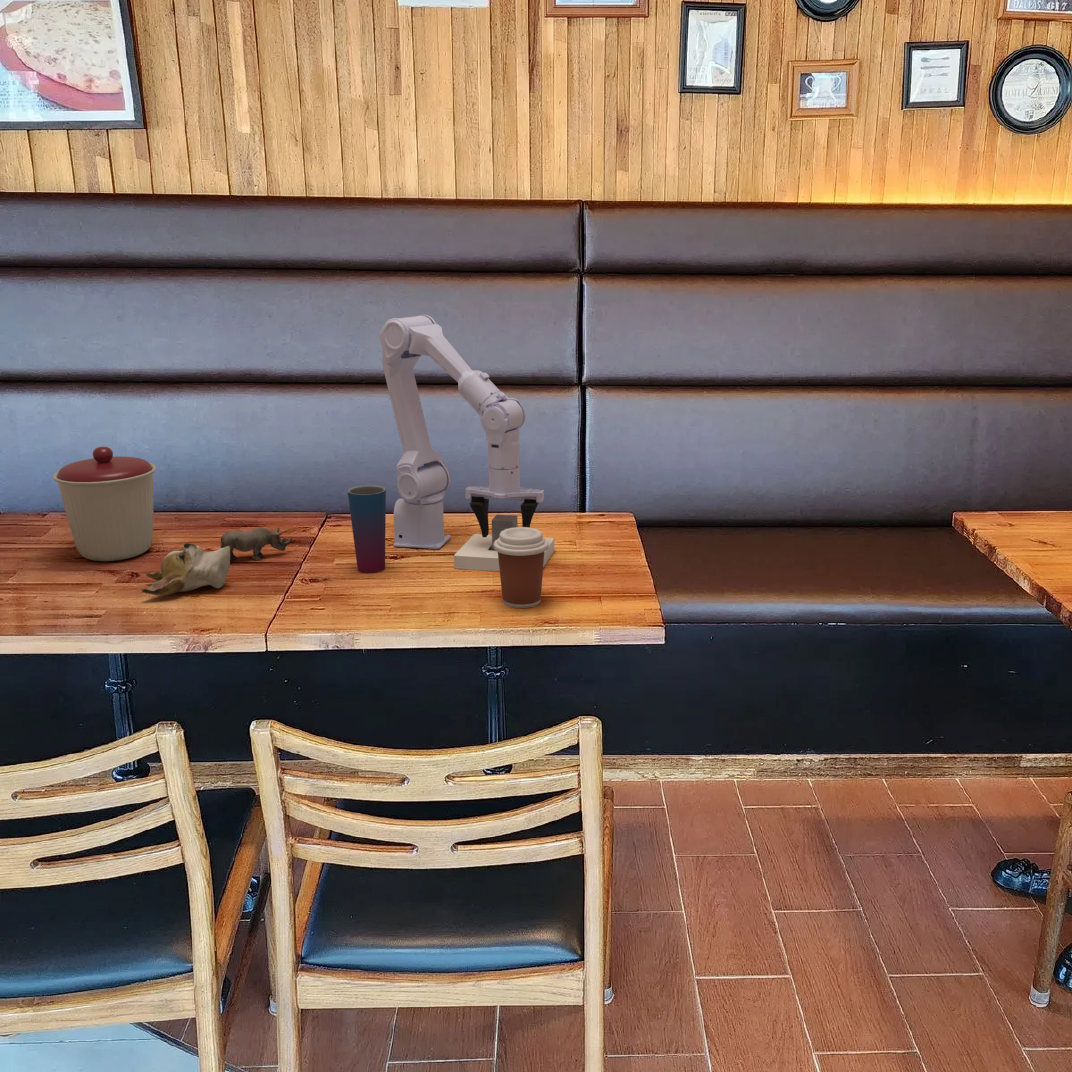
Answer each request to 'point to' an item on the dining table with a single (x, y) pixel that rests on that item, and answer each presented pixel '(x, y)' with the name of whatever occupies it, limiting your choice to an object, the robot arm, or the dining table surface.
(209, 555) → the ceramic sculpture
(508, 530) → the coffee cup
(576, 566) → the dining table surface
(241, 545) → the rhino figurine
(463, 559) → the socket plate
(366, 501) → the cup
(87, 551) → the canister
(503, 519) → the plug
